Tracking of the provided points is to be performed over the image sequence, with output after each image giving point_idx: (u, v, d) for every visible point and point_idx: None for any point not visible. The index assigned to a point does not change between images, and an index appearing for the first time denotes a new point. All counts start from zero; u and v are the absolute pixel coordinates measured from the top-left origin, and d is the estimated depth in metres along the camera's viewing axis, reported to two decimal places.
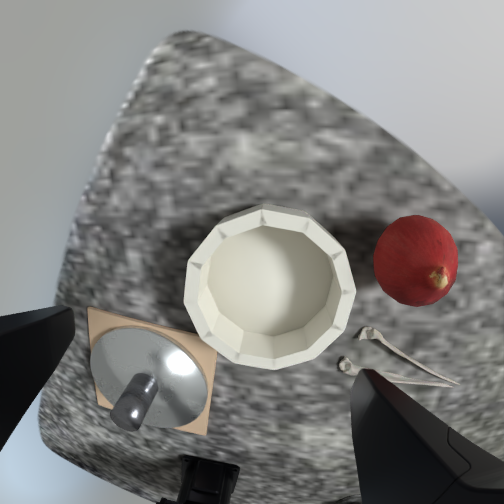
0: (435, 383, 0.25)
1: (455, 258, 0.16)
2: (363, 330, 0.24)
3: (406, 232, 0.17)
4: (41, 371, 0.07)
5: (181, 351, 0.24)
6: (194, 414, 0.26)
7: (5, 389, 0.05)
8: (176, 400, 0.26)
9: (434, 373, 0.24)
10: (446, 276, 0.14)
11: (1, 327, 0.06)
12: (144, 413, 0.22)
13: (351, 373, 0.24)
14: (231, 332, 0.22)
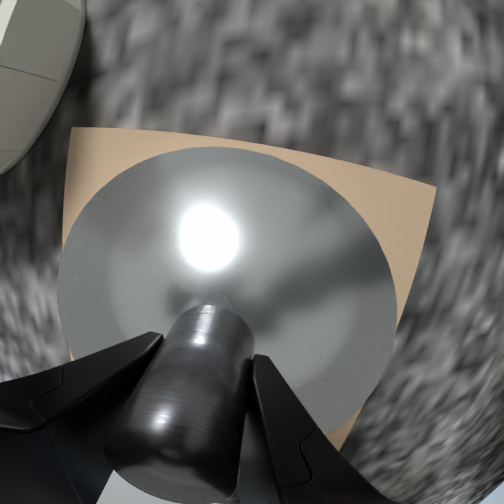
0: None
1: None
2: None
3: None
4: None
5: (79, 214, 0.09)
6: (322, 199, 0.08)
7: None
8: (260, 255, 0.09)
9: None
10: None
11: (103, 370, 0.06)
12: (174, 385, 0.06)
13: None
14: None
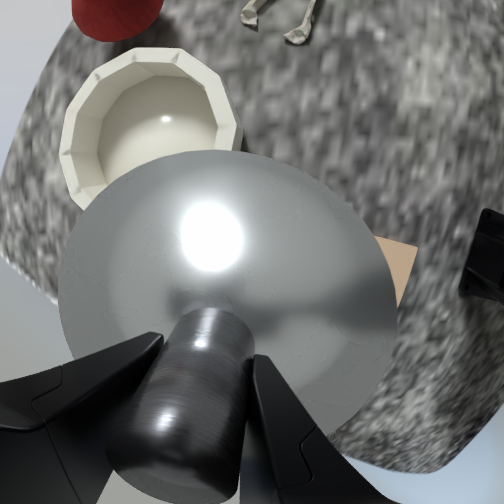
0: None
1: None
2: (245, 22, 0.16)
3: (75, 21, 0.13)
4: None
5: (80, 217, 0.09)
6: (323, 203, 0.08)
7: (107, 438, 0.05)
8: (261, 258, 0.09)
9: None
10: None
11: (102, 370, 0.06)
12: (176, 388, 0.06)
13: (307, 27, 0.16)
14: None
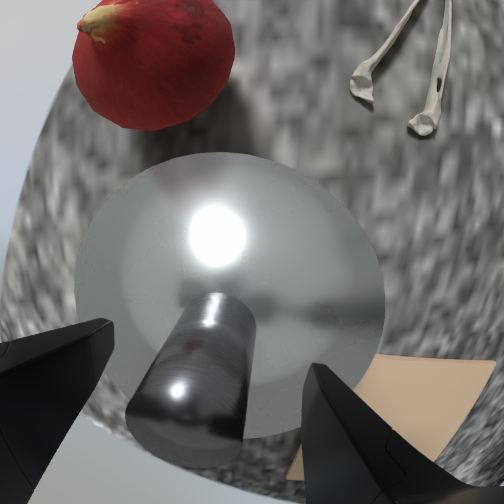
0: None
1: (103, 0, 0.07)
2: (356, 93, 0.12)
3: (84, 95, 0.09)
4: (83, 389, 0.07)
5: (98, 211, 0.10)
6: (316, 198, 0.09)
7: (48, 412, 0.05)
8: (262, 248, 0.10)
9: None
10: (86, 14, 0.05)
11: (43, 347, 0.06)
12: (189, 356, 0.07)
13: (437, 114, 0.12)
14: None
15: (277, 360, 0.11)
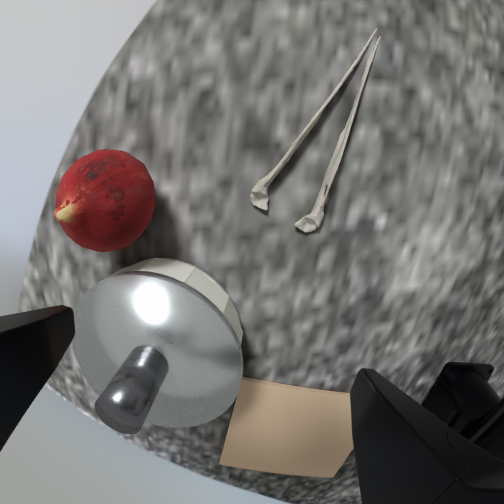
0: (363, 75, 0.17)
1: (66, 178, 0.14)
2: (255, 203, 0.20)
3: None
4: (41, 371, 0.07)
5: (82, 297, 0.17)
6: (193, 304, 0.17)
7: (5, 389, 0.05)
8: (167, 326, 0.17)
9: (341, 82, 0.17)
10: (57, 212, 0.13)
11: (1, 327, 0.06)
12: (122, 383, 0.14)
13: (319, 217, 0.19)
14: None
15: (182, 384, 0.18)
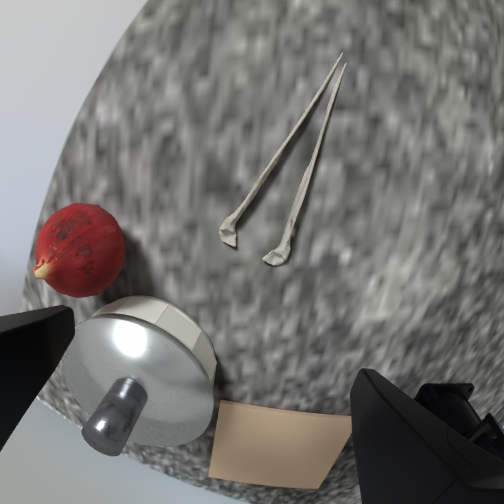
0: (329, 104, 0.18)
1: (41, 236, 0.15)
2: (224, 240, 0.20)
3: None
4: (41, 371, 0.07)
5: None
6: (162, 344, 0.18)
7: (5, 389, 0.05)
8: (142, 362, 0.18)
9: (304, 113, 0.18)
10: (35, 270, 0.14)
11: (1, 327, 0.06)
12: (103, 413, 0.15)
13: (286, 251, 0.20)
14: None
15: (160, 410, 0.19)
